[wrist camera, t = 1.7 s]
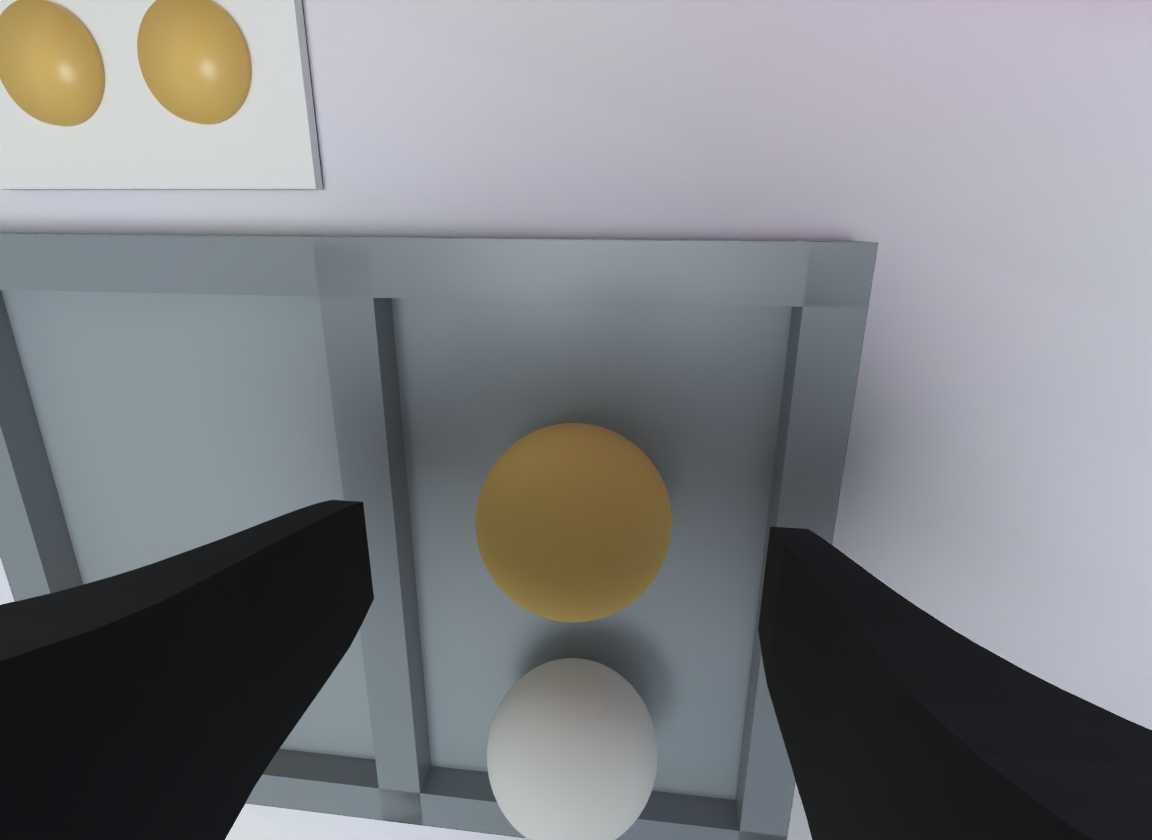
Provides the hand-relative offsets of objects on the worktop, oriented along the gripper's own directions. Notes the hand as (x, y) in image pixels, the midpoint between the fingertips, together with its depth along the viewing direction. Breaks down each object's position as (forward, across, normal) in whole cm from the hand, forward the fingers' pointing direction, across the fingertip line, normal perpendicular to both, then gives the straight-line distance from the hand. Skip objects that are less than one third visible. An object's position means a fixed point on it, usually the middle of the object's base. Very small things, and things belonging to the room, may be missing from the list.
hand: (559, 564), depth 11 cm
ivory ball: (+4, 0, +6) cm, 7 cm away
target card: (+4, +10, -9) cm, 14 cm away
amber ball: (+4, 0, 0) cm, 4 cm away
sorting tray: (+4, +5, +3) cm, 7 cm away
